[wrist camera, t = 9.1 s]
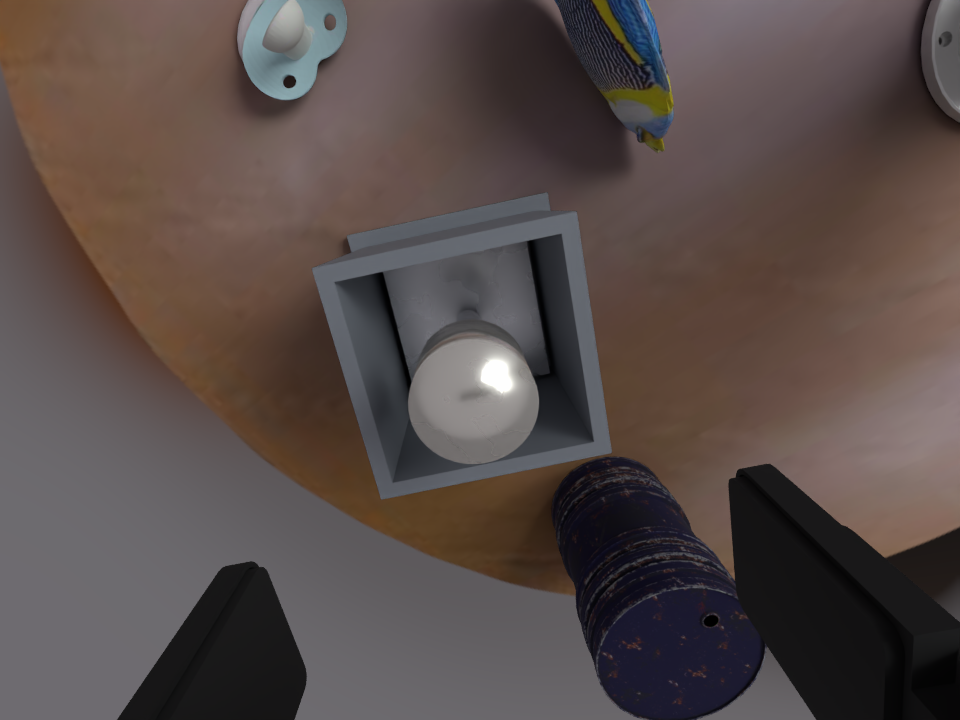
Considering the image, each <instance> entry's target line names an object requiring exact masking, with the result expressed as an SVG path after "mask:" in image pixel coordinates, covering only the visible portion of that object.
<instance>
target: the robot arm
mask: <svg viewBox="0 0 960 720" xmlns="http://www.w3.org/2000/svg"><path fill="white" fill-rule="evenodd" d="M921 59H922V70H923V74H924V77H925V80H926V84H927V87H928V89H929V91H930V93H931V95H932V97H933V98H934V100H935V102H936V103H937V104H938V106H939V107H940V108H941V109H942V110H943V111H944V112H945V113H946V114H947V115H948V116H950V117H951V118H953V119H954V120H956V121H957V122H959V123H960V0H931V3H930V5H929V7H928V10H927V14H926V18H925V22H924V26H923V31H922V43H921ZM729 500H730V514H731V528H732V542H733V556H734V570H735V584H736V593H737V597H738V600H739V603H740V605H741V607H742V609H743V611H744V612H745V614H746V615H747V617H748V618H749V620H750V621H751V623H752V624H753V626H754V627H755V629H756V630H757V632H758V633H759V635H760V636H761V638H762V639H763V641H764V642H765V644H766V645H767V647H768V648H769V650H770V651H771V653H772V654H773V655H774V657H775V658H776V660H777V661H778V663H779V664H780V666H781V667H782V669H783V670H784V672H785V673H786V675H787V676H788V678H789V679H790V681H791V682H792V684H793V685H794V686H795V688H796V690H797V691H798V693H799V694H800V696H801V697H802V699H803V700H804V702H805V703H806V705H807V706H808V708H809V709H810V711H811V712H812V714H813V715H814V717H815V718H816V720H960V622H959V621H958V620H956V619H955V618H954V617H953V616H952V615H951V614H949V613H948V612H947V611H946V610H945V609H944V608H942V607H941V606H940V605H939V604H938V603H937V602H935V601H934V600H933V599H932V598H931V597H929V596H928V595H927V594H926V593H925V592H924V591H923V590H921V589H920V588H919V587H918V586H917V585H915V584H914V583H913V582H912V581H911V580H909V579H908V578H907V577H906V576H905V575H904V574H903V573H901V572H900V571H899V570H898V569H897V568H896V567H895V566H893V565H892V564H891V563H890V562H889V561H888V560H886V559H885V558H884V557H883V556H882V555H881V554H879V553H878V552H877V551H876V550H875V549H874V548H872V547H871V546H870V545H869V544H868V543H867V542H865V541H864V540H863V539H862V538H861V537H860V536H858V535H857V534H856V533H855V532H854V531H852V530H851V529H849V528H848V527H846V526H842V525H841V524H840V523H839V522H837V521H836V520H835V519H834V518H833V517H832V516H830V515H829V514H828V513H827V512H826V511H825V510H824V509H822V508H821V507H820V506H819V505H818V504H817V503H815V502H814V501H813V500H812V499H811V498H810V497H809V496H807V495H806V494H805V493H804V492H803V491H802V490H800V489H799V488H798V487H797V486H796V485H795V484H794V483H792V482H791V481H790V480H789V479H788V478H787V477H785V476H784V475H783V474H782V473H781V472H780V471H779V470H777V469H776V468H775V467H774V466H772V465H771V464H764V465H758V466H753V467H748V468H742V469H739V470H738V471H737V473H736V478H731V479H730V480H729ZM306 677H307V676H306V668H305V665H304V662H303V660H302V657H301V655H300V652H299V650H298V647H297V645H296V642H295V640H294V637H293V635H292V632H291V630H290V627H289V625H288V622H287V620H286V617H285V614H284V612H283V609H282V607H281V604H280V602H279V600H278V597H277V594H276V592H275V589H274V587H273V585H272V582H271V579H270V577H269V574H268V572H267V570H266V569H265V568H264V567H259V566H258V565H257V564H256V563H255V562H246V563H240V564H235V565H229V566H225V567H223V568H222V569H221V570H220V571H219V572H218V573H217V575H216V576H215V578H214V579H213V581H212V582H211V584H210V585H209V586H208V588H207V590H206V591H205V592H204V594H203V595H202V597H201V598H200V600H199V601H198V603H197V604H196V606H195V607H194V608H193V610H192V611H191V613H190V614H189V616H188V617H187V619H186V620H185V621H184V623H183V625H182V626H181V627H180V629H179V630H178V632H177V633H176V635H175V636H174V638H173V639H172V641H171V642H170V643H169V645H168V646H167V648H166V649H165V651H164V652H163V654H162V655H161V657H160V658H159V659H158V661H157V663H156V664H155V665H154V667H153V668H152V670H151V671H150V673H149V674H148V675H147V677H146V678H145V680H144V681H143V683H142V684H141V686H140V687H139V689H138V690H137V692H136V693H135V694H134V696H133V698H132V699H131V700H130V702H129V703H128V705H127V706H126V708H125V709H124V710H123V712H122V713H121V715H120V716H119V718H118V719H117V720H294V719H295V716H296V713H297V710H298V708H299V705H300V702H301V698H302V696H303V693H304V690H305V686H306Z"/></svg>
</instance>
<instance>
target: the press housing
mask: <svg viewBox="0 0 960 720" xmlns="http://www.w3.org/2000/svg"><path fill="white" fill-rule="evenodd" d="M347 238H348V242H349V246H350V249H351V253H349V254H346V255H344V256H341V257H339V258H336V259H334V260H331V261H329V262H326V263H324V264H321V265H319V266H316V267H314V268H312V271H313V274H314V278H315V281H316V284H317V288H318V291H319V294H320V298H321V301H322V304H323V308H324V311H325V314H326V318H327V321H328V324H329V327H330V331H331V334H332V337H333V341H334V344H335V347H336V351H337V354H338V357H339V361H340V364H341V367H342V371H343V374H344V377H345V381H346V384H347V387H348V391H349V394H350V397H351V401H352V404H353V407H354V411H355V414H356V417H357V421H358V424H359V427H360V431H361V434H362V437H363V441H364V444H365V447H366V451H367V454H368V457H369V461H370V464H371V467H372V471H373V474H374V477H375V481H376V484H377V487H378V491H379V494H380V497H381V500H382V499H387V498H392V497H397V496H401V495H406V494H411V493H416V492H421V491H426V490H431V489H436V488H441V487H446V486H451V485H456V484H461V483H466V482H471V481H476V480H481V479H485V478H490V477H495V476H500V475H505V474H510V473H515V472H520V471H525V470H530V469H535V468H540V467H545V466H550V465H555V464H560V463H565V462H569V461H574V460H579V459H584V458H589V457H594V456H599V455H604V454H609V453H612V450H611V443H610V436H609V429H608V423H607V416H606V409H605V402H604V395H603V388H602V381H601V375H600V368H599V361H598V354H597V347H596V340H595V333H594V327H593V320H592V313H591V306H590V299H589V292H588V285H587V279H586V272H585V265H584V258H583V251H582V244H581V237H580V231H579V224H578V217H577V211H551V210H550V204H549V198H548V192H546V193H541V194H536V195H532V196H527V197H523V198H518V199H513V200H509V201H504V202H499V203H495V204H490V205H486V206H481V207H476V208H472V209H467V210H463V211H458V212H453V213H449V214H444V215H439V216H435V217H430V218H426V219H421V220H416V221H412V222H407V223H402V224H398V225H393V226H389V227H384V228H379V229H375V230H370V231H366V232H361V233H356V234H352V235H347ZM524 241H527V246H528V252H529V258H530V263H531V269H532V275H533V280H534V286H535V292H536V297H537V303H538V309H539V315H540V320H541V326H542V332H543V337H544V343H545V349H546V354H547V360H548V366H549V371H550V373H548V374H544V375H539V376H534V377H533V378H534V381H535V383H536V386H537V390H538V396H539V409H538V415H537V419H536V422H535V425H534V427H533V429H532V431H531V432H530V434H529V436H528V437H527V438H526V440H525V441H524V442H523V443H522V444H521V445H520V446H519V447H518V448H517V449H516V450H514V451H513V452H511V453H510V454H508V455H506V456H505V457H503V458H500V459H498V460H495V461H492V462H488V463H482V464H463V463H458V462H454V461H451V460H448V459H445V458H443V457H441V456H439V455H438V454H436V453H435V452H433V451H432V450H431V449H429V448H428V447H427V446H426V445H425V444H424V443H423V442H422V441H421V439H420V438H419V436H418V435H417V434H416V432H415V430H414V428H413V426H412V423H411V420H410V416H409V411H408V398H409V391H410V387H411V384H412V382H411V378H410V374H409V370H408V366H407V362H406V359H405V355H404V351H403V347H402V343H401V339H400V336H399V332H398V328H397V324H396V320H395V316H394V313H393V309H392V305H391V301H390V297H389V293H388V289H387V286H386V282H385V278H384V274H383V272H384V271H388V270H393V269H398V268H402V267H407V266H412V265H416V264H421V263H426V262H430V261H435V260H440V259H444V258H449V257H454V256H458V255H463V254H468V253H472V252H477V251H482V250H487V249H491V248H496V247H501V246H505V245H510V244H515V243H519V242H524Z"/></svg>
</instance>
